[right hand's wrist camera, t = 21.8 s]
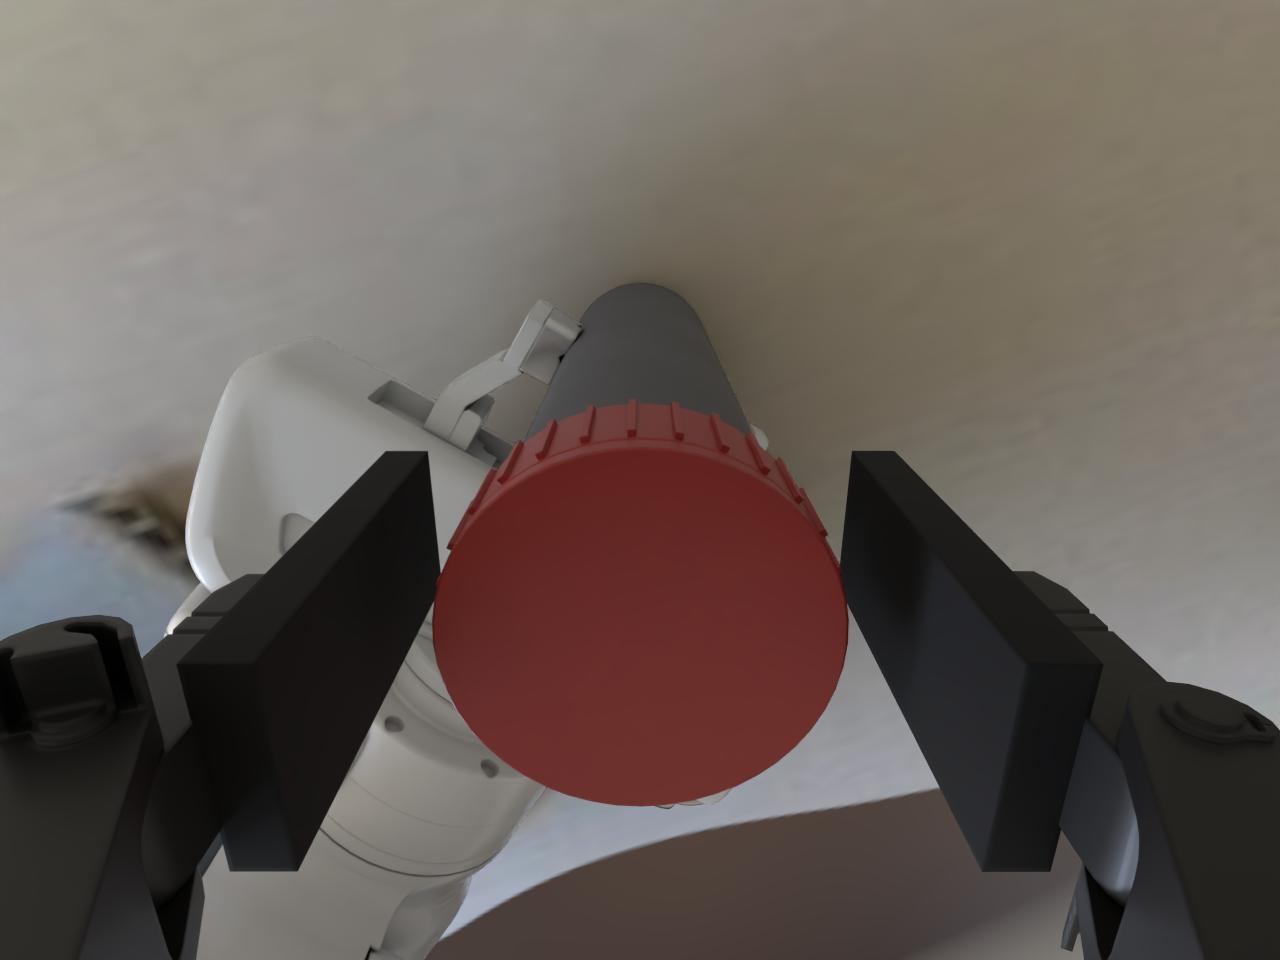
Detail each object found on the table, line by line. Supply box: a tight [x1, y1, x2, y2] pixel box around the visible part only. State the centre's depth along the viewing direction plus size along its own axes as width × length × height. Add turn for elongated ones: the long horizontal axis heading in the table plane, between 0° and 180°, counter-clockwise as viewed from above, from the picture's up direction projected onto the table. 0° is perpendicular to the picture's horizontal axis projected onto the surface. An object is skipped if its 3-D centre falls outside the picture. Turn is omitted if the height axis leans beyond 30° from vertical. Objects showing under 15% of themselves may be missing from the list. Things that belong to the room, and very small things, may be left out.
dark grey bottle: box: [523, 283, 753, 443], centre depth 20 cm, size 5×5×19 cm
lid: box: [432, 399, 849, 806], centre depth 11 cm, size 6×6×2 cm
